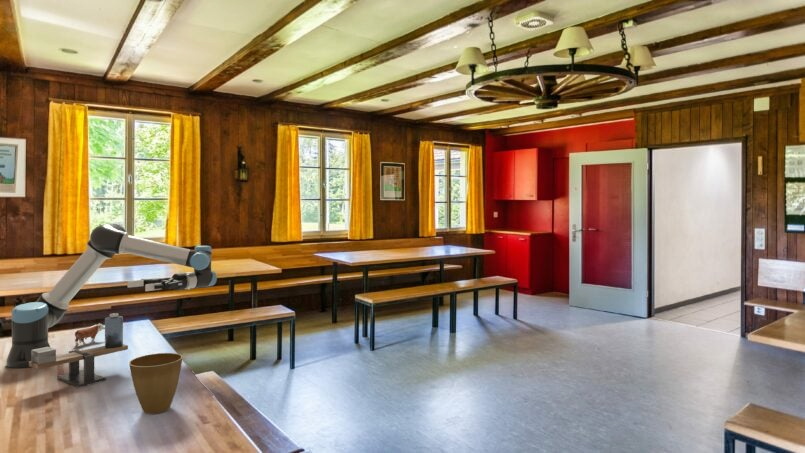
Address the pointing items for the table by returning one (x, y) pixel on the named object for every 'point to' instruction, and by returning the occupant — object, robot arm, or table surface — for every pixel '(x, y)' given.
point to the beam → (66, 356)
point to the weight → (114, 331)
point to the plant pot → (156, 380)
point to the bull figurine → (88, 333)
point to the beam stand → (82, 373)
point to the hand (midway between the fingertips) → (136, 286)
